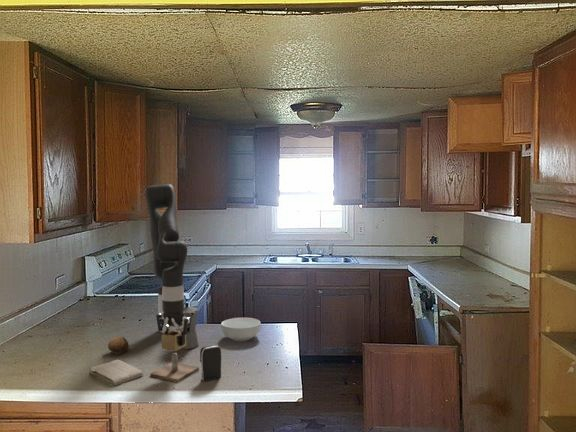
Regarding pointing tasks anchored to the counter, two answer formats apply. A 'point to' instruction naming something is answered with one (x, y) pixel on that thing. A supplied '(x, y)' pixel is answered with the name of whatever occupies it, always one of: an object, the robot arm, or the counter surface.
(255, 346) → the counter surface
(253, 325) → the cereal bowl
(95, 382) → the counter surface
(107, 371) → the washcloth
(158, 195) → the robot arm
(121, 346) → the brown round lump
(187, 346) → the coffeepot
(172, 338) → the collar
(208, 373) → the battery charger
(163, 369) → the post base
